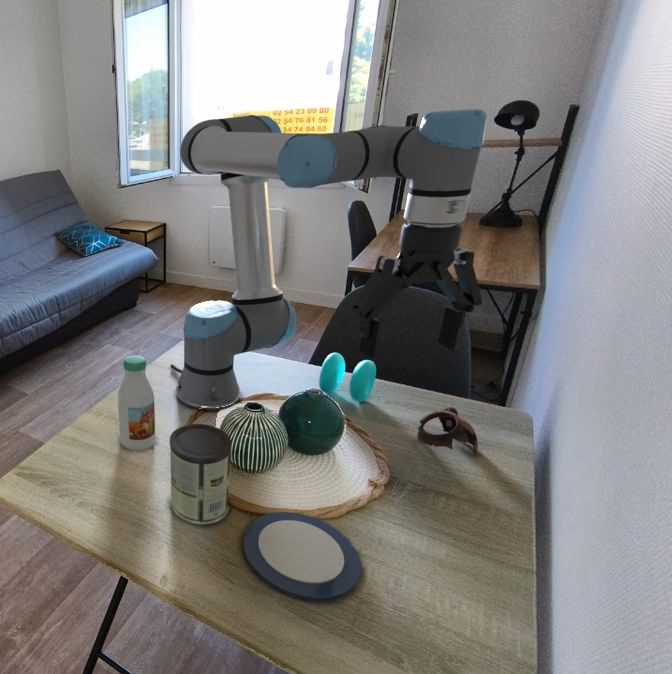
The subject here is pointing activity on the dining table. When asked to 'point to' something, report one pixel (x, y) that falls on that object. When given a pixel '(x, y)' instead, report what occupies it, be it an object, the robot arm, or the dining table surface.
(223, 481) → the coffee can
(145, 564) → the dining table surface
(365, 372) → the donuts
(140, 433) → the milk bottle
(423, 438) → the brown jagged ring piece
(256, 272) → the robot arm
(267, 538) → the plate
